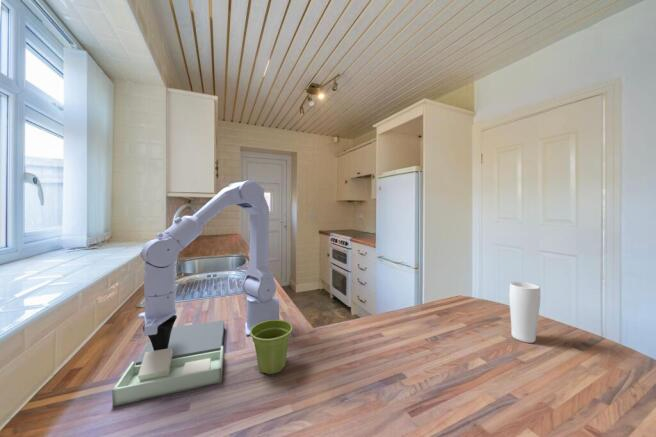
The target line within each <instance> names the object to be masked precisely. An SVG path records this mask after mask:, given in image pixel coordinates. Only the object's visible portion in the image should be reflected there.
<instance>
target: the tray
mask: <svg viewBox="0 0 656 437" xmlns="http://www.w3.org/2000/svg"><path fill="white" fill-rule="evenodd" d="M208 358H211V369H207V370H202V371H197V372H192V373H187V374H182V371H183V368H184V365H185V363H187V362H192V361H197V360H203V359H208ZM223 365H224V345H222V346H221V350H219V351H214V352H208V353H203V354H197V355H192V356H186V357H181V358H175V359H172V361H171V365H170V370H169V375H168V376H164V377H159V378H154V379H149V380H144V381H140V380H139V377H138V374H139V371H140V368H141V365H136V361H135V360H134V361H131V362H130V364H129V366H128V367H127V368H126V370H125V371H124V372H123V374H122V376H121V377H120V378H119V380H118V381H117V383H116V384H115V386H114V387H113V389H111V390H112V392H111V394H112V407H116V406H120V405H121V406H122V405H126V404H130V403H135V402H138V401H143V400H147V399H153V398H157V397H162V396H165V395H170V394H175V393H180V392H184V391H185V392H186V391H188V390H193V389H198V388H201V387H202V388H203V387H207V386H212V385H216V384H221V383H222V380H223V379H222V378H223V367H224V366H223ZM181 374H182V375H181Z"/></svg>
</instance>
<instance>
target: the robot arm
mask: <svg viewBox="0 0 656 437" xmlns="http://www.w3.org/2000/svg"><path fill="white" fill-rule="evenodd" d="M234 205H236V206H237V207H238V206H239V207H240V208H242V209H243V210H244V211H245V212H247V214H249V267H248V268H247V269H246V270H245V276H244V279H243V281H242V284H241V285H242V291H243V293H244V294H246V296H245V297H246V322H245V323H244V325H245V326H244V328H245V336H251V335H250V330H251V328H252V327H253V326H255V325H256V324H258V323H261V322H264V321H268V320H280V302H279V297H278V296H275V295H276V292H277V284H276V281H275V277H274V276H275V275H274V273H273V271H272V270H271V269H270V267H269V251H270V250H269V247H270V246H269V245H270V244H269V242H270V238H269V237H270V235H269V234H270V232H269V230H270V229H269V228H270V207H269V204H268V203H267V199H266V198H265V188H264V187H263V186H261V184H260V183H259V182H257V181H256V180H252V179H248V180H246V181H239V182H232V183H230V184H228V186H226V187H224V188H222V189H221V190H220V191H219V192H218V193H216V195H215V196H214V197H212V198H211V199H210V200H209V201H208V202H207V203H206V204H204V205H203V206H202V207H200V209H199V210H197V211H196V212H195V213H193V215H183V216H182V217H179V216H177V217H176V218H175V219H174V220H173V221H174V223H172V225H170V227H168V228H167V229H166V230H164V231H163V232H158V233H156V237H157V238H154V239H151V240H149V241H147V242H146V243H145V244H144V245H143V247H142V249H141V251H140V253H139V254H140V258H142V260H143V261H144V274H143V283H144V285H143V286H144V287H143V288H144V291H143V292H144V311H143V312H141V313H139V314H138V316H137V318H138V319H140V320H142V319H143V320H144V325H143V326H142V329H143V334H144V336H145V337H146V336H147V337H148V338H149V342H150V341H151V343H152V346H153V349H154V351H156V350H162V349H168V345H169V340H170V335H171V331H172V327H174V324H175V322H176V320H177V319H178V318H177V315H176V314H177V313H178V312H177V307H176V271H175V263H176V261H177V260H178V258H179V254H180V252H181V251H183V250H184V249H185V248H186V247H188V245H190V244H191V243H192V242H193V241H195V240H196V239H197V238H199V236H200V235H201V234H202V233H203V230H204V225H205V224H206V223H208V222H209V221H210V220H212V219H213V218H214V217H215V216H217V215H218V214H219V213H221V211H223V210H224V209H225V208H227V207H229V206H234Z"/></svg>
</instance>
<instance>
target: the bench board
mask: <svg viewBox="0 0 656 437" xmlns="http://www.w3.org/2000/svg"><path fill="white" fill-rule="evenodd" d="M224 332H225V320H224V319H222V320H215V321H208V322H201V323H195V324H194V323H193V324H186V325H182V326H181V325H180V326H179V325H178V326H173V327H172V331H171V335H170V340H169V345H168V348H172V351H173V356H172V359H175V358H181V357H186V356H192V355H197V354H203V353H208V352H214V351H219V350H221V346H224V344H223V343H224V335H225V334H224ZM150 351H154V349H153V346H152V343H151V341H150V340H149V341H148V343H147V344H146V346H145V348H144V349H143V350H142V352H141V354H140V355H139V357H138V358H137V360H136V361H135V366H136V365H141V364H142V361H143V358H144V355H145V352H150Z"/></svg>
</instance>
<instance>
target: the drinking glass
mask: <svg viewBox="0 0 656 437" xmlns="http://www.w3.org/2000/svg"><path fill="white" fill-rule="evenodd" d="M508 304H509V313H510V314H509V316H510V325H511V327H510V329H511V332H510V334H511V336H512V337H513V339H515V340H517V341H520V342H523V343H527V344H530V343H535V342H536V340H537V329H538V328H537V327H538V322H539V321H538V320H539V314H540V309H541V308H540V307H541V287H540V286H539V285H536V284H534V283H530V282H525V281H524V282H523V281H511V282H509V287H508Z"/></svg>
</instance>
